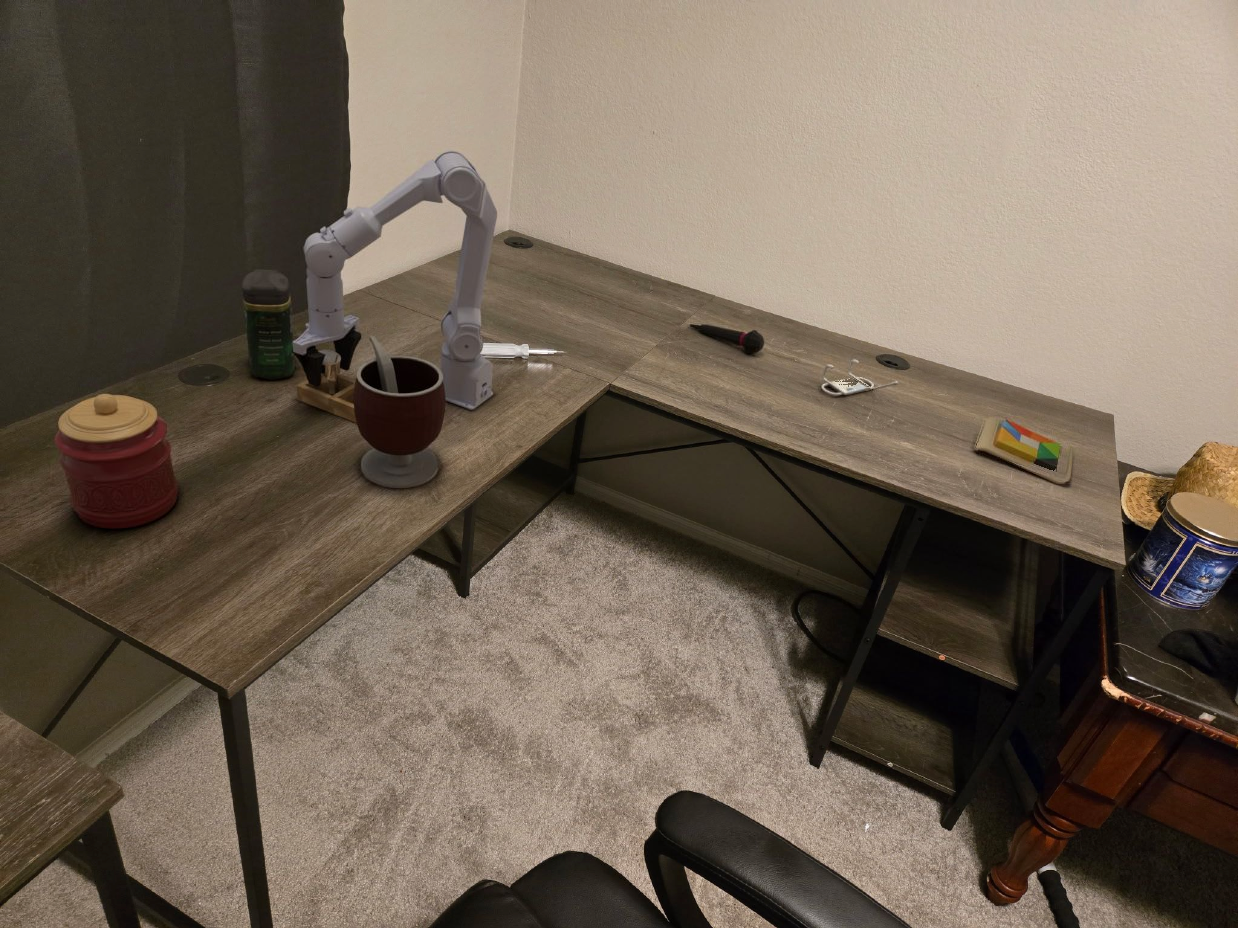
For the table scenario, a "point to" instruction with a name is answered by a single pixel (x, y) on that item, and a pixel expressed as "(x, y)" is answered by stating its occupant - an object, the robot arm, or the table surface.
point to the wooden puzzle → (1021, 446)
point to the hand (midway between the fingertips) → (329, 376)
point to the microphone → (734, 337)
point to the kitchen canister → (116, 461)
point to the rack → (330, 398)
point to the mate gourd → (399, 417)
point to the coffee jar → (268, 324)
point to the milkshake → (330, 372)
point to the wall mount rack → (851, 389)
